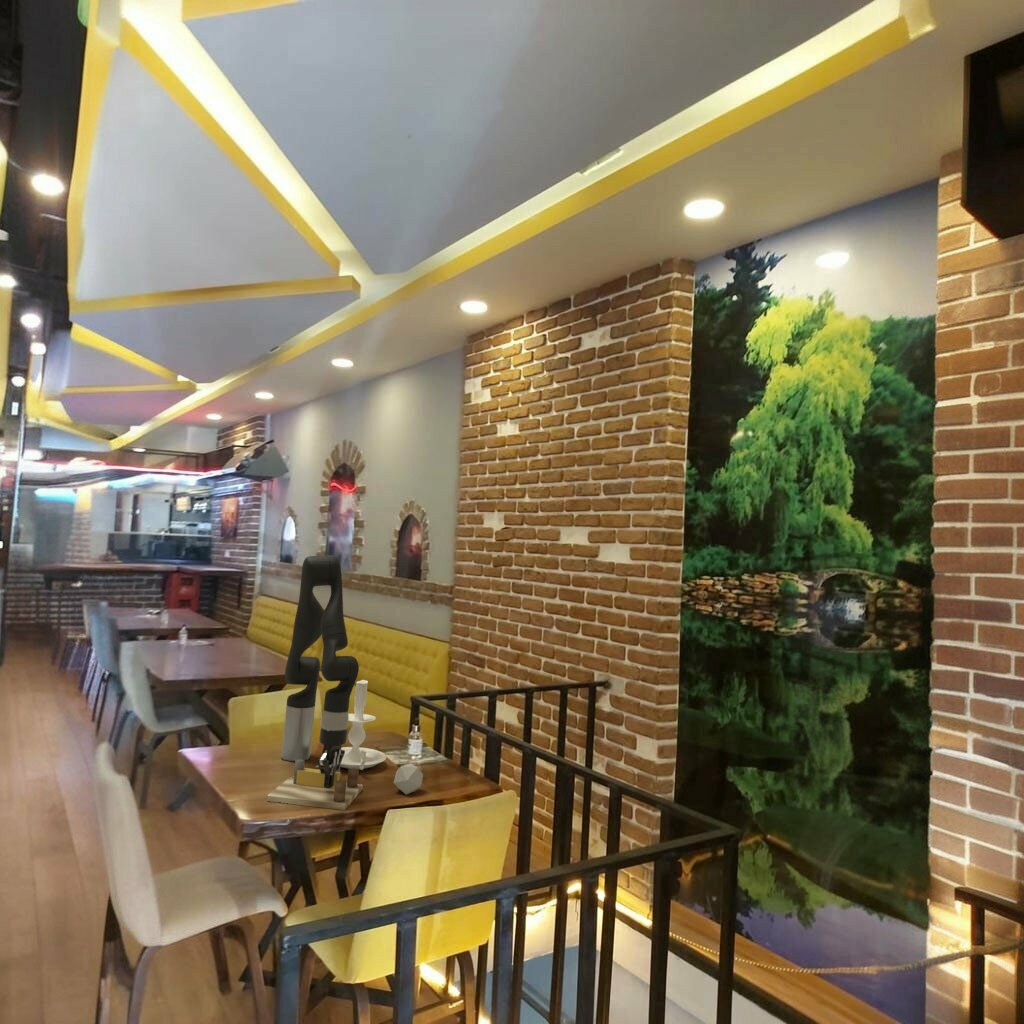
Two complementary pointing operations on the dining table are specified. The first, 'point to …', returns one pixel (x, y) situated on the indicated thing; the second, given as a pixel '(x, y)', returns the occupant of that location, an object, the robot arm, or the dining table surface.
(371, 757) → the candlestick
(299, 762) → the bar
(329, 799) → the seat board
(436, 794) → the dining table surface
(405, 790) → the die
